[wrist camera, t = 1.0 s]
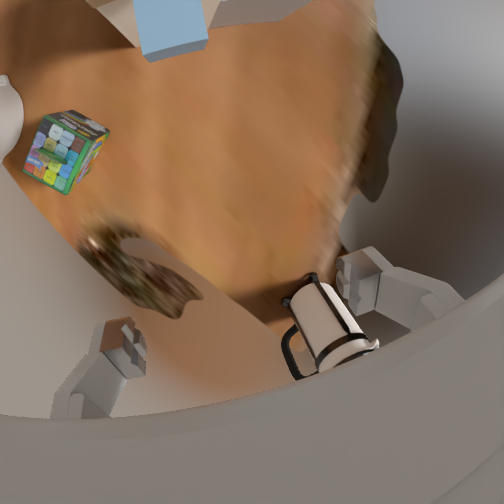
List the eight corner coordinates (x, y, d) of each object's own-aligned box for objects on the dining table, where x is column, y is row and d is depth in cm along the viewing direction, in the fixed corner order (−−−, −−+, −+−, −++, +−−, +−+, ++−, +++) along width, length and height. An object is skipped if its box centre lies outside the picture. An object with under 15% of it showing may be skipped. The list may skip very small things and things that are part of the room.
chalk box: (50, 153, 37) (8, 179, 25) (72, 107, 34) (31, 116, 22) (88, 175, 41) (57, 208, 29) (112, 130, 39) (84, 146, 26)
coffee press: (281, 273, 63) (339, 383, 38) (341, 269, 67) (409, 359, 42) (270, 326, 72) (311, 425, 47) (323, 319, 76) (372, 405, 51)
